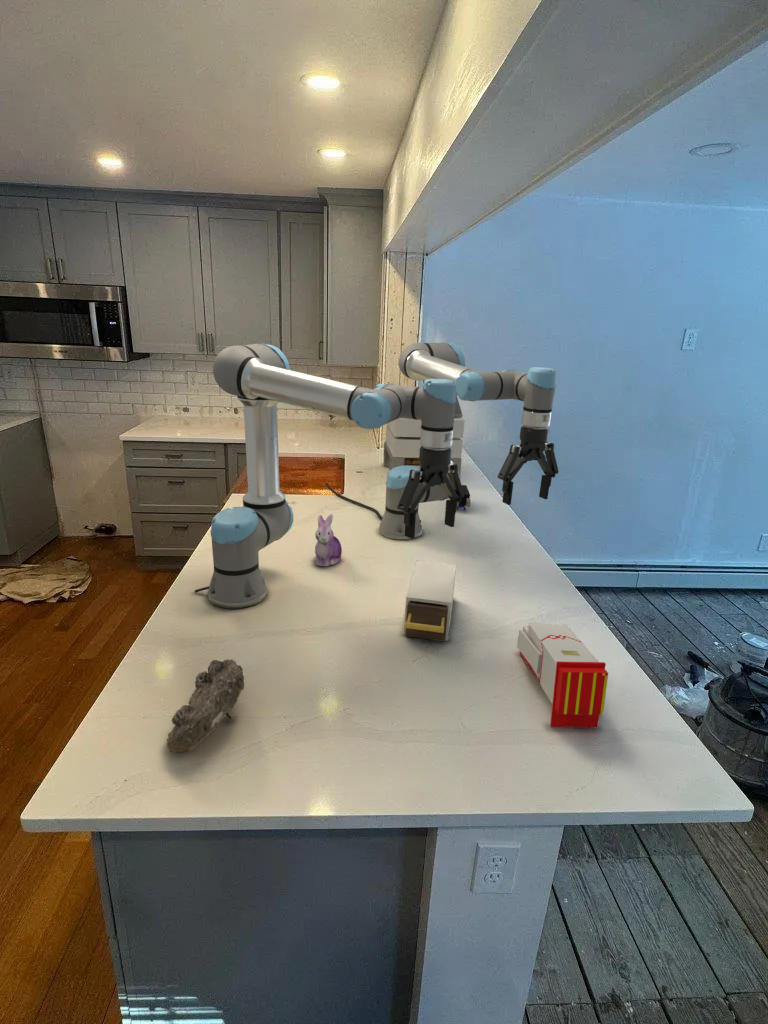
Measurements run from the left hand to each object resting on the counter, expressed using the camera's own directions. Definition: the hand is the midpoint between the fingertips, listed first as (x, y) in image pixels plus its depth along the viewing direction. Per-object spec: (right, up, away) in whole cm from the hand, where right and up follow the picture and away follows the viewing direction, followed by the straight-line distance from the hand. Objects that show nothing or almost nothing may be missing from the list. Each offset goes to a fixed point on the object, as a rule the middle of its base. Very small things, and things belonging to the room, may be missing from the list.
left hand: (429, 531), depth 140 cm
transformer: (+6, +24, +135) cm, 137 cm away
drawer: (0, -23, +2) cm, 23 cm away
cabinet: (+1, -22, +7) cm, 23 cm away
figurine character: (+20, +7, +91) cm, 93 cm away
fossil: (-44, -34, -32) cm, 64 cm away
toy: (+25, -32, -18) cm, 45 cm away
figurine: (-29, -11, +36) cm, 47 cm away
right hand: (+29, +8, +21) cm, 36 cm away
